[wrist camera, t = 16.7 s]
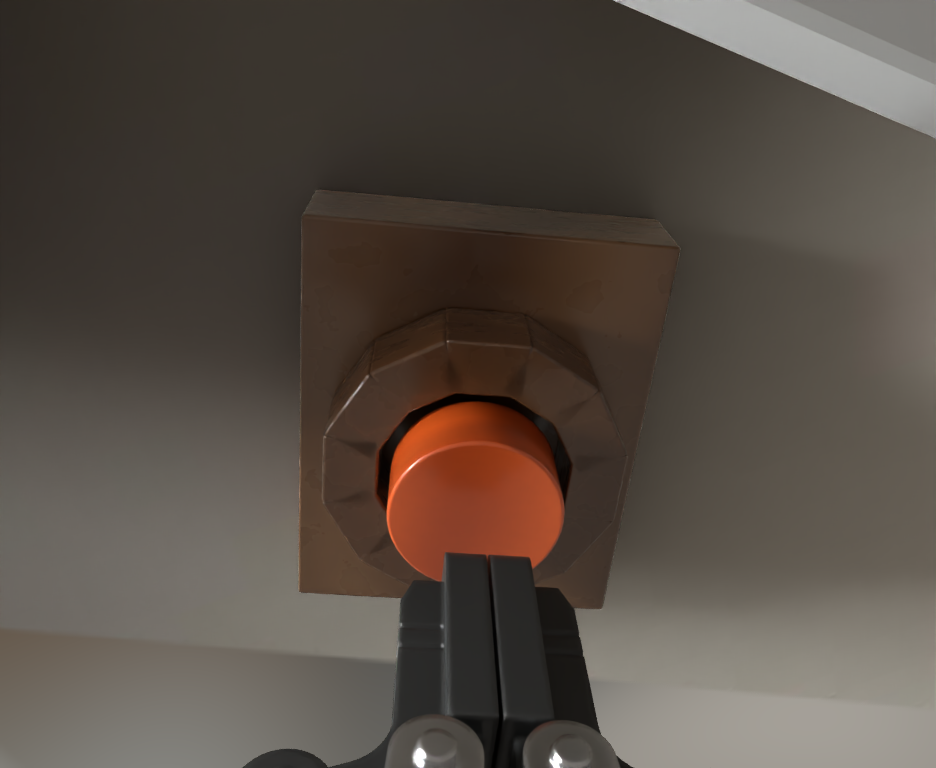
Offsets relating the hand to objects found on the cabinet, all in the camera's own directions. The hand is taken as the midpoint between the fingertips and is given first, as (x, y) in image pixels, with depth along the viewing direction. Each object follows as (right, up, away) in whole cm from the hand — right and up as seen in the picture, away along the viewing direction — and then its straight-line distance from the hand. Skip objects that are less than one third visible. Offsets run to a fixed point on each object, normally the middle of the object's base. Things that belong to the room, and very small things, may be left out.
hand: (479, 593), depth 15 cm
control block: (0, +3, +7) cm, 8 cm away
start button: (0, +2, +4) cm, 4 cm away
